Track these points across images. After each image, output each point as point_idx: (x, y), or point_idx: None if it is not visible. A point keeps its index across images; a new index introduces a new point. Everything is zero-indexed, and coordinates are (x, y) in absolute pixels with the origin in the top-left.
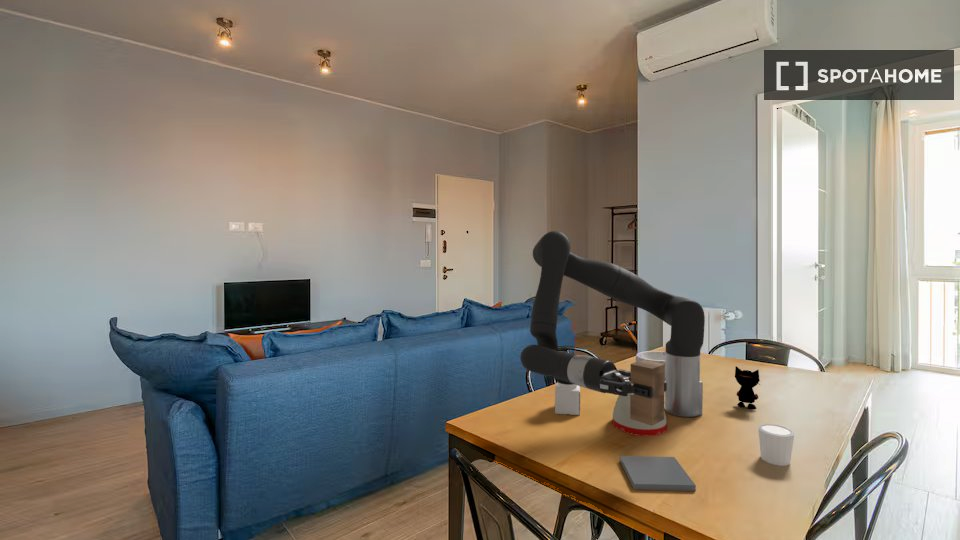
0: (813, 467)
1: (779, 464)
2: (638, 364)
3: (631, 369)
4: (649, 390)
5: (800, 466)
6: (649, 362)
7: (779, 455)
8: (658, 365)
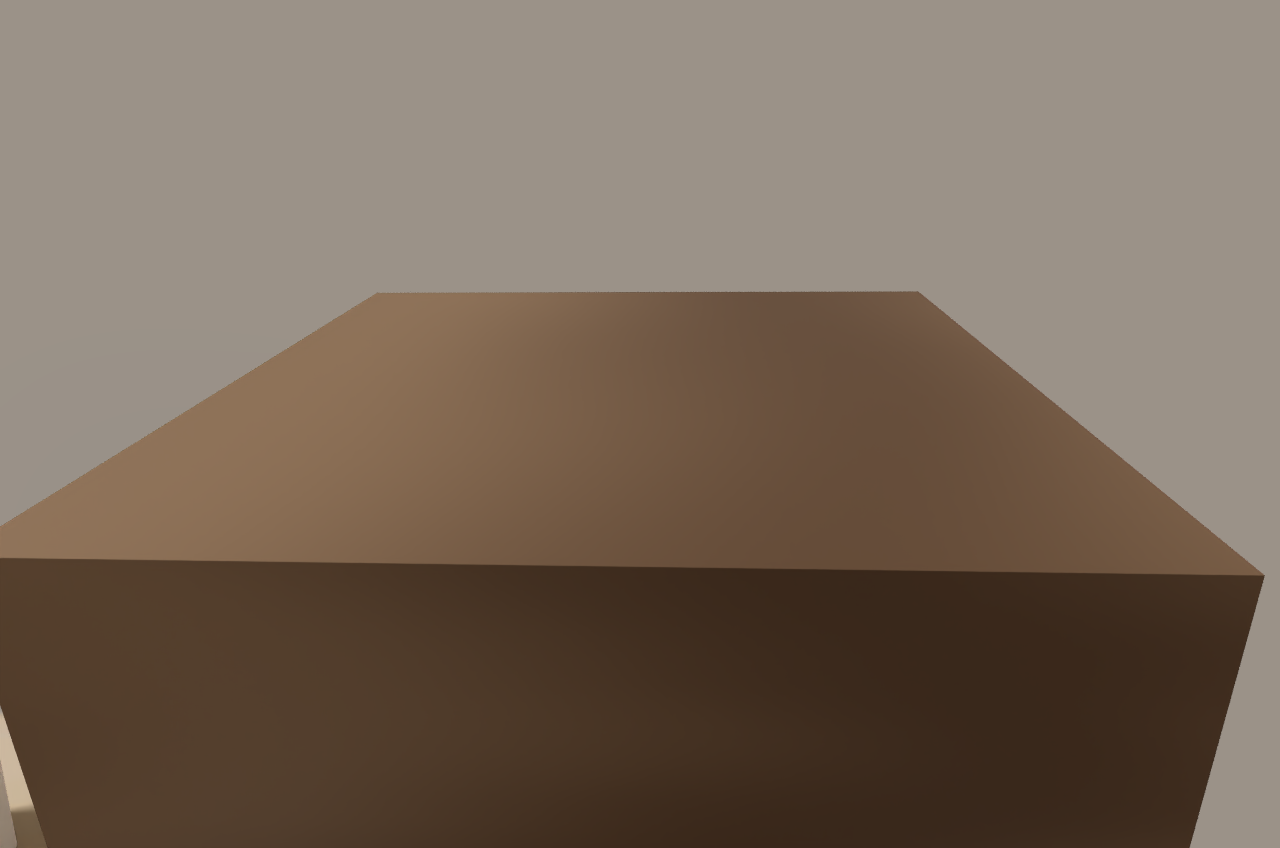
0: (4, 743)
1: (15, 838)
2: (942, 433)
3: (1163, 787)
4: None
5: (4, 779)
6: (387, 391)
7: (6, 793)
8: (579, 299)
